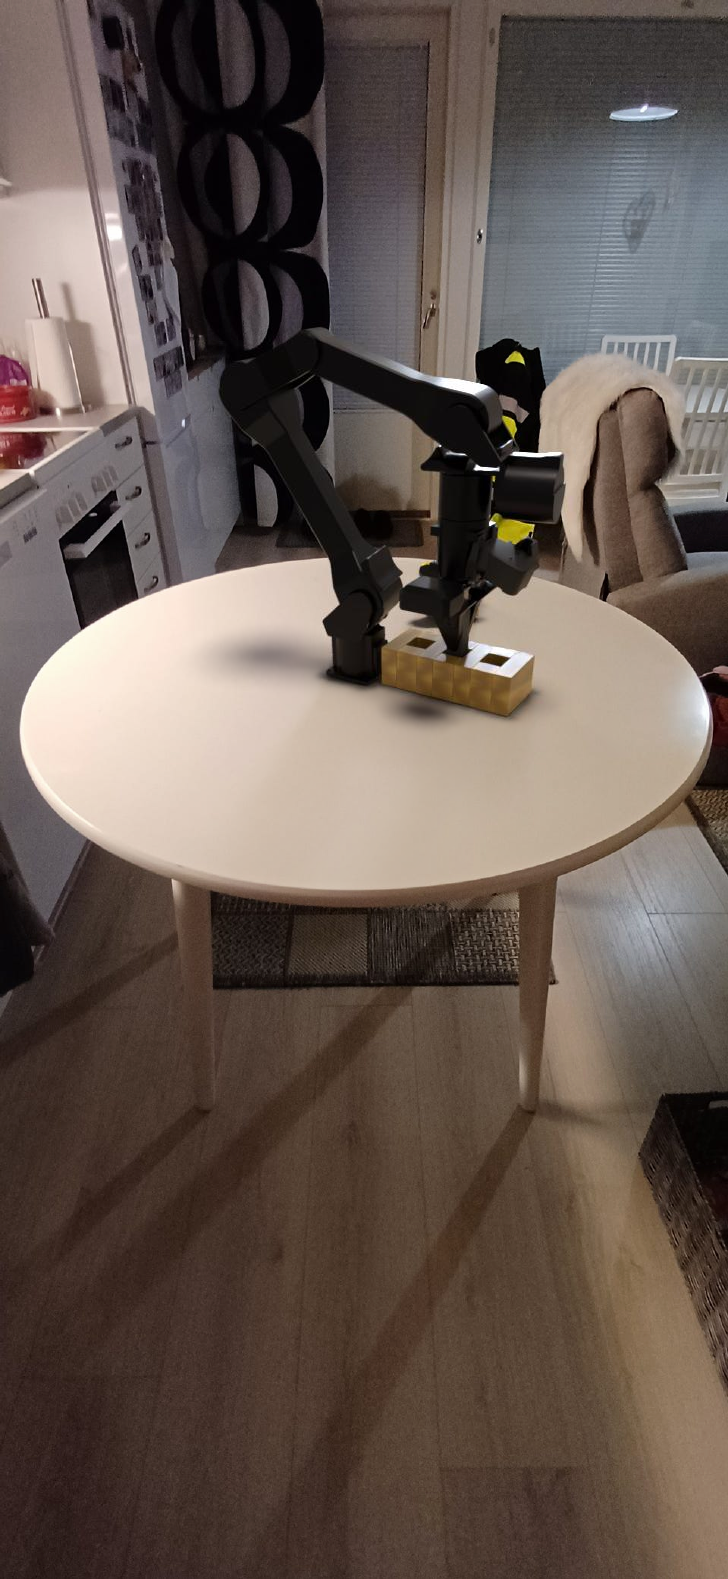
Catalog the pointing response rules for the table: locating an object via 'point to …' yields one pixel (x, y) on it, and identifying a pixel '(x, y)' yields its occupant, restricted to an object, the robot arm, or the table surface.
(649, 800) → the table surface
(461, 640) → the peg
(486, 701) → the holder
